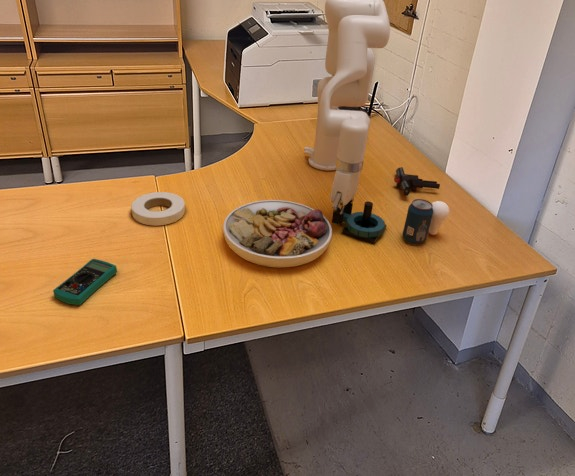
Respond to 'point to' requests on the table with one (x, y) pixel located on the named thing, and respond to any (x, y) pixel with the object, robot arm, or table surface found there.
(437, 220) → the lightbulb
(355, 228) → the ring
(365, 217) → the ring stand
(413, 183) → the black plastic t-shaped piece
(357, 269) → the table surface
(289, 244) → the bowl
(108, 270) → the digital multimeter
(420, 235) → the soda can
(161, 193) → the tape roll
